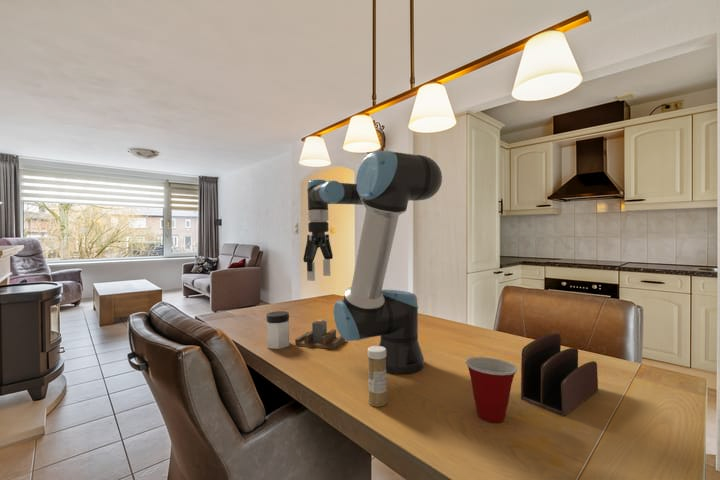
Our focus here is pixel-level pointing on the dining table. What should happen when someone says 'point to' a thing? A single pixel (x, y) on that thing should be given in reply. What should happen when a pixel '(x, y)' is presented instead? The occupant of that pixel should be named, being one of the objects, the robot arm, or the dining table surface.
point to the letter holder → (555, 376)
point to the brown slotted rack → (326, 341)
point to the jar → (277, 330)
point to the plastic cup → (491, 386)
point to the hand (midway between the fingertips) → (319, 278)
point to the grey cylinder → (319, 329)
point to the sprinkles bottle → (377, 375)
